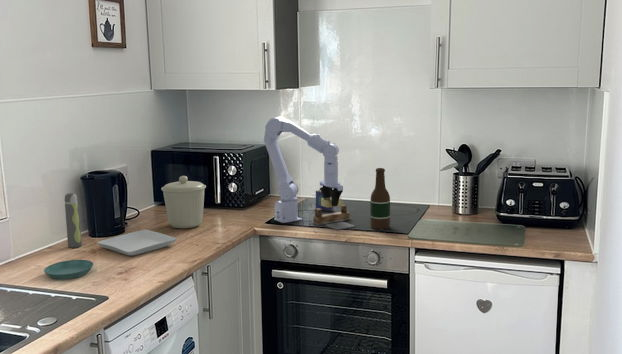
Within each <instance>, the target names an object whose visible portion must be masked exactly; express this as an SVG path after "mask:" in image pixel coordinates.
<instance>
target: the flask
mask: <svg viewBox="0 0 622 354" xmlns="http://www.w3.org/2000/svg"><path fill="white" fill-rule="evenodd" d="M321 198H324V197H323V194H322V192H321V190H320V189H317V190H315V209H317V208H320V209H322V212H329V213H330V212H331V213H333V212H334V211H335V207H329V208H327V207H324V206H321Z"/></svg>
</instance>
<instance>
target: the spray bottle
mask: <svg viewBox="0 0 622 354" xmlns="http://www.w3.org/2000/svg"><path fill="white" fill-rule="evenodd" d="M64 207H65V208H64V211H65V220H66V221H65V224H66V238H67V247H68V248H70V249H76V248H80V247H82V246H83V240H82V239H83V238H82V231H81V223H80V222H81V221H80V210H79V204H78V196H77V194H76V193H66V194H65V196H64Z"/></svg>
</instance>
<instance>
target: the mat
mask: <svg viewBox="0 0 622 354" xmlns="http://www.w3.org/2000/svg"><path fill="white" fill-rule="evenodd" d="M324 227H326V228H330V229H332V230H335V231H340V230H347V229H351V228H356V225H354V224H352V223H348V222H345V221H338V222H333V223H327V224H324Z"/></svg>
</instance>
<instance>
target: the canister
mask: <svg viewBox="0 0 622 354" xmlns="http://www.w3.org/2000/svg"><path fill="white" fill-rule="evenodd" d="M206 188H207V185H206V184H204V183H202V182H201V181H193V180H188V176H186V175H181V176H179V178H178V181H174V182H169V183H167V184H165V185H164V186H162V187H161V191H162V192H163V198H164V199H163V201H164V205H165V210H166V214H167V215H166V217H167V219H168V223H169V225H170V226H171V227H172V228H175V229H182V230H183V229H192V228H196V227H198V226H200V225H201V224H202V223H203V222H202V221H203V217H204V205H205V204H204V202H205V189H206Z"/></svg>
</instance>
